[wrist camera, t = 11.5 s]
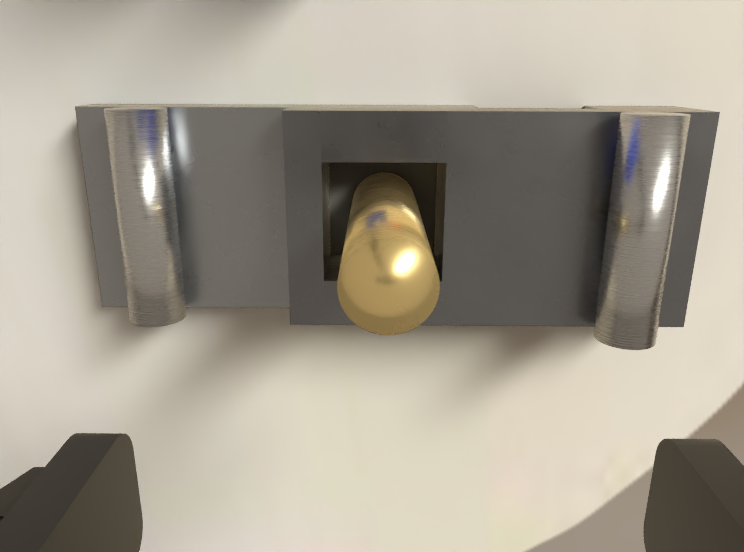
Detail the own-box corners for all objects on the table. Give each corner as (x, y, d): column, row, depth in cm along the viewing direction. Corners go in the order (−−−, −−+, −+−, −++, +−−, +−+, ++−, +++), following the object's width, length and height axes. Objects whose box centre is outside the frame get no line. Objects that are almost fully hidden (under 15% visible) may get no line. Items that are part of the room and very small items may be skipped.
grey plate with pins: (95, 104, 29) (18, 113, 22) (673, 106, 28) (754, 116, 22) (119, 292, 31) (56, 346, 25) (646, 295, 31) (711, 350, 25)
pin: (351, 172, 29) (336, 237, 18) (416, 172, 29) (442, 237, 18) (352, 235, 30) (337, 335, 19) (415, 235, 30) (437, 335, 19)
